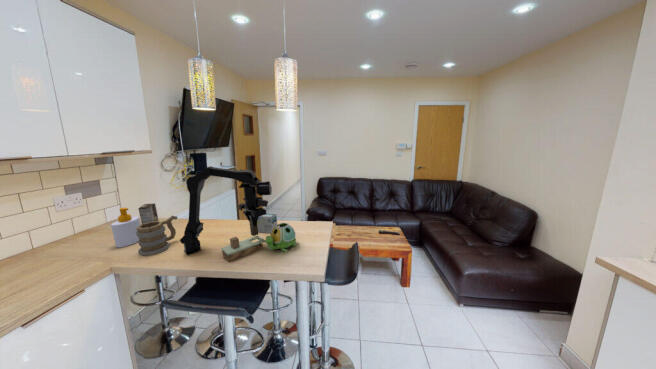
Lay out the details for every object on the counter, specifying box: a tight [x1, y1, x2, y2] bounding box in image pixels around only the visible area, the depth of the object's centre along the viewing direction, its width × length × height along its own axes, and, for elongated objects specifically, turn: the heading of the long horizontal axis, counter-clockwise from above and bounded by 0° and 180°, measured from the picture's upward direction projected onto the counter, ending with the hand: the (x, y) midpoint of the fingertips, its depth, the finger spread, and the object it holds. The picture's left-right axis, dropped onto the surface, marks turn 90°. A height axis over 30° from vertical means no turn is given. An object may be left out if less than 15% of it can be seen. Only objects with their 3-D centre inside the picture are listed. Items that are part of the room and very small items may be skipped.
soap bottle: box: [110, 207, 142, 248], centre depth 134 cm, size 13×8×20 cm, turn 161°
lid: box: [220, 234, 266, 255], centre depth 120 cm, size 19×8×5 cm, turn 134°
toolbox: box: [221, 243, 265, 263], centre depth 121 cm, size 18×8×4 cm, turn 134°
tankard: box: [136, 215, 178, 256], centre depth 128 cm, size 20×13×15 cm, turn 147°
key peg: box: [248, 220, 259, 237], centre depth 123 cm, size 3×3×8 cm
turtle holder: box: [264, 222, 297, 253], centre depth 123 cm, size 12×18×12 cm
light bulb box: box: [257, 212, 278, 234], centre depth 145 cm, size 11×7×11 cm, turn 74°
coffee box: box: [137, 203, 160, 224], centre depth 152 cm, size 9×6×16 cm
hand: (253, 225), depth 123 cm, fingers closed on key peg, 3 cm apart
